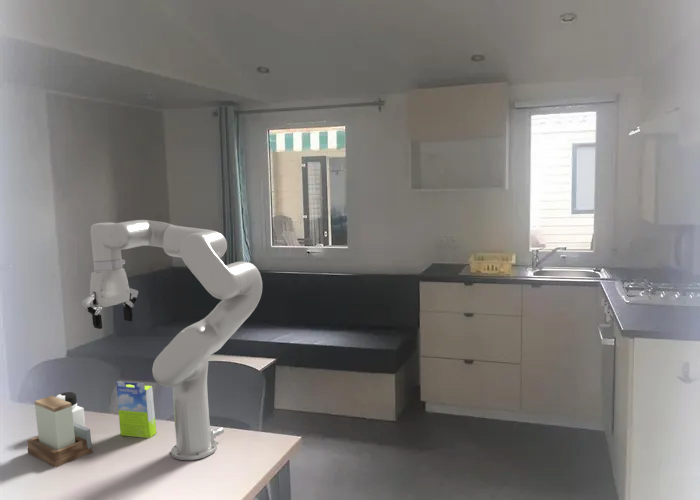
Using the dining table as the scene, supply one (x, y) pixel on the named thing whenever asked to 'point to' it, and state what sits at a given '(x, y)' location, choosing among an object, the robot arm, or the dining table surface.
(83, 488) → the dining table surface
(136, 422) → the box
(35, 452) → the slot rack
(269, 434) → the dining table surface
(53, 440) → the tall rectangular pillar
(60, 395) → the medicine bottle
